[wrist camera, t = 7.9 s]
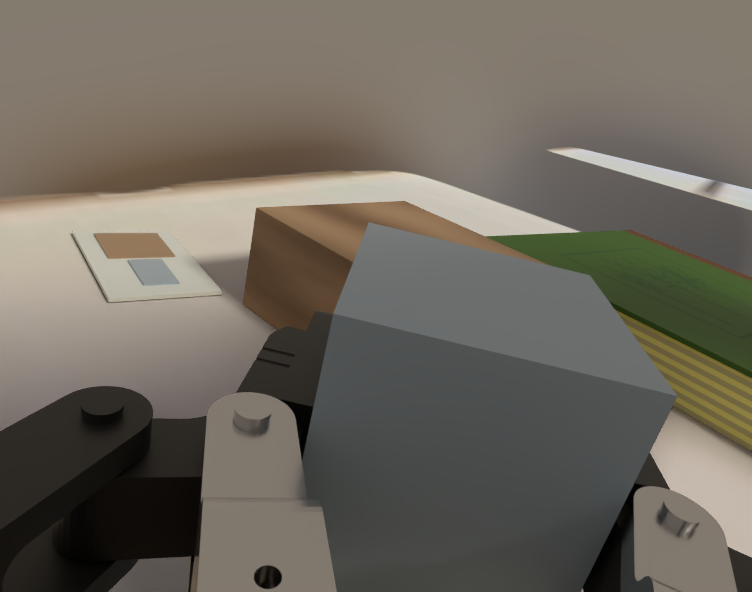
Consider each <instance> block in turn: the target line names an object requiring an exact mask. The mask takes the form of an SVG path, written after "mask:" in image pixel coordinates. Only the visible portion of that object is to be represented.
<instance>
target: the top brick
mask: <svg viewBox="0 0 752 592" xmlns="http://www.w3.org/2000/svg"><path fill="white" fill-rule="evenodd" d="M676 398H677V394H676V393H675V392H674V390H673V389H672V388H671V386H670V385H669V383H668V382H667V381H666V379H665V378H664V377H663V375H662V374H661V372H660V371H659V370H658V368H657V367H656V366H655V364H654V363H653V361H652V360H651V359H650V357H649V356H648V355H647V353H646V352H645V350H644V349H643V348H642V346H641V345H640V344H639V342H638V341H637V339H636V338H635V337H634V335H633V334H632V333H631V331H630V330H629V328H628V327H627V326H626V324H625V323H624V322H623V320H622V319H621V317H620V316H619V315H618V313H617V312H616V311H615V309H614V308H613V306H612V305H611V304H610V302H609V301H608V300H607V298H606V297H605V295H604V294H603V293H602V291H601V290H600V289H599V287H598V286H597V284H596V283H595V282H594V280H593V279H592V278H591V276H590V275H587V274H583V273H579V272H574V271H570V270H566V269H562V268H558V267H553V266H549V265H545V264H541V263H537V262H533V261H528V260H524V259H520V258H516V257H512V256H508V255H503V254H499V253H495V252H491V251H487V250H483V249H478V248H474V247H470V246H466V245H462V244H458V243H453V242H449V241H445V240H441V239H437V238H432V237H428V236H424V235H420V234H416V233H412V232H407V231H403V230H399V229H395V228H391V227H387V226H382V225H378V224H374V223H370V222H369V223H368V226H367V228H366V231H365V233H364V236H363V238H362V241H361V244H360V246H359V249H358V251H357V254H356V256H355V259H354V262H353V264H352V267H351V269H350V272H349V274H348V277H347V280H346V282H345V285H344V287H343V290H342V292H341V295H340V298H339V300H338V303H337V305H336V308H335V310H334V313H333V317H332V322H331V327H330V331H329V336H328V341H327V346H326V350H325V355H324V360H323V365H322V369H321V374H320V379H319V383H318V388H317V393H316V398H315V402H314V407H313V412H312V417H311V421H310V426H309V431H308V436H307V440H306V445H305V450H304V454H303V459H302V466H303V472H304V479H305V486H306V493H307V498H318V499H319V501H320V503H321V506H322V510H323V516H324V521H325V527H326V533H327V539H328V544H329V550H330V556H331V561H332V567H333V573H334V579H335V584H336V590H337V592H580V591H581V589H582V587H583V585H584V583H585V581H586V579H587V577H588V575H589V573H590V571H591V569H592V567H593V565H594V563H595V561H596V559H597V557H598V555H599V553H600V551H601V549H602V547H603V545H604V543H605V541H606V539H607V537H608V535H609V533H610V531H611V529H612V527H613V525H614V523H615V521H616V519H617V517H618V515H619V513H620V511H621V509H622V507H623V505H624V503H625V501H626V499H627V497H628V495H629V493H630V491H631V489H632V487H633V485H634V483H635V481H636V479H637V477H638V475H639V473H640V471H641V469H642V467H643V465H644V463H645V461H646V458H647V456H648V454H649V452H650V450H651V448H652V446H653V444H654V442H655V440H656V438H657V436H658V434H659V432H660V430H661V428H662V426H663V424H664V422H665V420H666V418H667V416H668V414H669V412H670V410H671V408H672V406H673V404H674V402H675V400H676Z"/></svg>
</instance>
